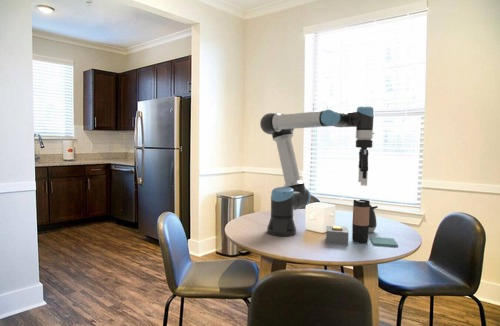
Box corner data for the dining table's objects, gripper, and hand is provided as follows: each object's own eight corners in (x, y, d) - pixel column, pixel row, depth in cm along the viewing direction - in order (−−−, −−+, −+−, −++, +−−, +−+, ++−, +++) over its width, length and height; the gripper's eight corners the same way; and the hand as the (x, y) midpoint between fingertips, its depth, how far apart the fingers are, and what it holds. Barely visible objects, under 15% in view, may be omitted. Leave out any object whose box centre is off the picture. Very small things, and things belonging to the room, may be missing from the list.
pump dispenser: (378, 234, 181) (379, 206, 180) (357, 233, 183) (358, 205, 182) (375, 229, 191) (376, 202, 190) (355, 228, 193) (356, 201, 192)
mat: (373, 245, 163) (373, 243, 163) (370, 238, 174) (370, 236, 174) (398, 247, 161) (398, 245, 160) (393, 240, 171) (393, 238, 171)
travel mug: (366, 244, 163) (367, 202, 162) (349, 242, 167) (351, 201, 166) (369, 240, 170) (371, 200, 168) (354, 238, 174) (355, 198, 172)
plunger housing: (326, 243, 164) (326, 230, 164) (326, 237, 174) (326, 225, 174) (348, 245, 162) (348, 232, 162) (346, 239, 172) (347, 227, 171)
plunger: (332, 240, 167) (333, 227, 166) (332, 237, 170) (332, 225, 170) (341, 240, 166) (341, 228, 165) (340, 238, 170) (341, 226, 169)
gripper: (375, 139, 152) (373, 187, 154) (369, 139, 176) (367, 181, 178) (358, 139, 154) (356, 186, 155) (354, 139, 178) (352, 180, 180)
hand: (362, 183), depth 167 cm, fingers open, 13 cm apart
